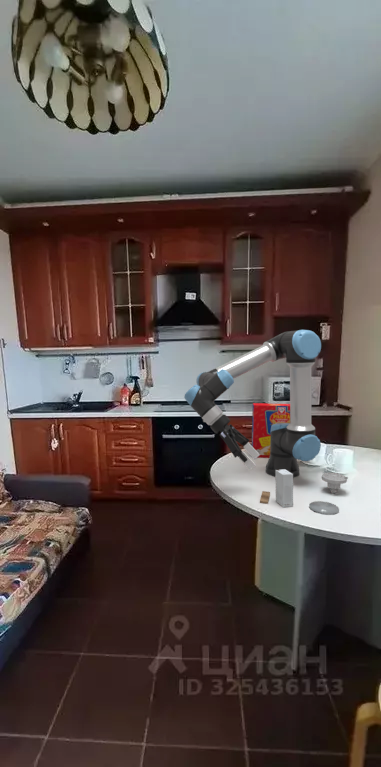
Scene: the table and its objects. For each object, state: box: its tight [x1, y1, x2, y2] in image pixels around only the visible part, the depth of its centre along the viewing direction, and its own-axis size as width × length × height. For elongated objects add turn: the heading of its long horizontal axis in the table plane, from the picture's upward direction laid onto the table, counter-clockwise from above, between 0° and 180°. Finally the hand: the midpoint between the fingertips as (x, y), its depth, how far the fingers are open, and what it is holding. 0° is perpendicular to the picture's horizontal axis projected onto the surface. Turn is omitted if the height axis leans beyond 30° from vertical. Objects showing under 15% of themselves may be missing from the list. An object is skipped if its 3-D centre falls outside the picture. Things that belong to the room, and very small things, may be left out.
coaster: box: [308, 500, 340, 516], centre depth 132 cm, size 10×10×1 cm
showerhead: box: [321, 472, 349, 494], centre depth 147 cm, size 9×7×10 cm
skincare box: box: [275, 469, 294, 508], centre depth 135 cm, size 6×4×12 cm
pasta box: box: [251, 402, 290, 459], centre depth 196 cm, size 28×8×28 cm, turn 85°
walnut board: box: [259, 490, 271, 505], centre depth 140 cm, size 10×3×1 cm, turn 164°
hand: (255, 462), depth 137 cm, fingers open, 13 cm apart
